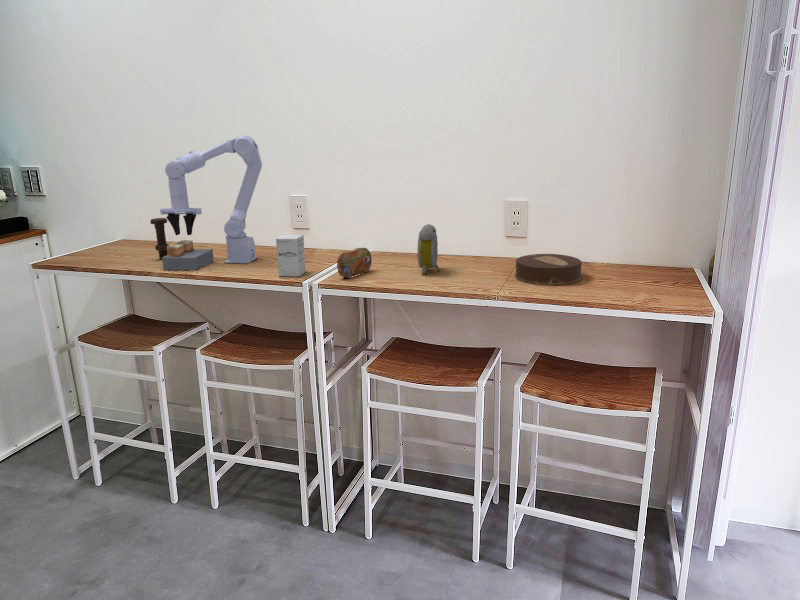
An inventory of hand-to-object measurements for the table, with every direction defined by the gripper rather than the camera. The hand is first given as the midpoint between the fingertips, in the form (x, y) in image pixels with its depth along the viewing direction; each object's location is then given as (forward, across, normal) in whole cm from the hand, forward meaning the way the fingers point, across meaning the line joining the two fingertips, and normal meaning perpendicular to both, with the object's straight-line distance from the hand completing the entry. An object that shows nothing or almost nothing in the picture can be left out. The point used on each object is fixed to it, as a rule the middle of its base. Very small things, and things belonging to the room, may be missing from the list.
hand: (183, 234), depth 225 cm
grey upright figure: (+11, +88, -8) cm, 90 cm away
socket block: (+10, +2, -4) cm, 11 cm away
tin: (+11, +64, -14) cm, 67 cm away
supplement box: (+11, +44, -14) cm, 47 cm away
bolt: (+11, -12, +6) cm, 18 cm away
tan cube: (+7, 0, -7) cm, 10 cm away
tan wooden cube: (+7, 0, 0) cm, 7 cm away
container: (+11, +125, -14) cm, 127 cm away
